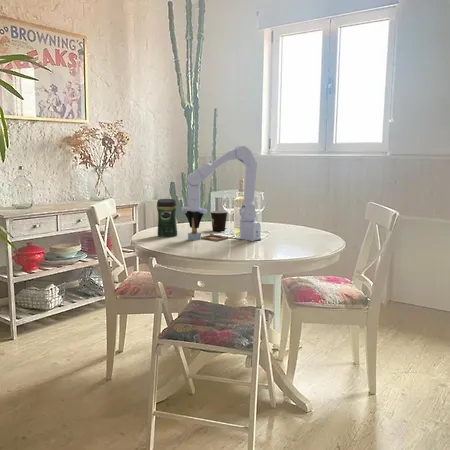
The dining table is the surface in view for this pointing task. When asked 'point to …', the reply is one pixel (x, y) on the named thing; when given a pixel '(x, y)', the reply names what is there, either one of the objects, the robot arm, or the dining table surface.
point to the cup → (194, 236)
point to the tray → (214, 238)
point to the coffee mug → (218, 220)
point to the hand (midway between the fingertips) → (194, 227)
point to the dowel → (193, 227)
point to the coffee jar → (167, 218)
